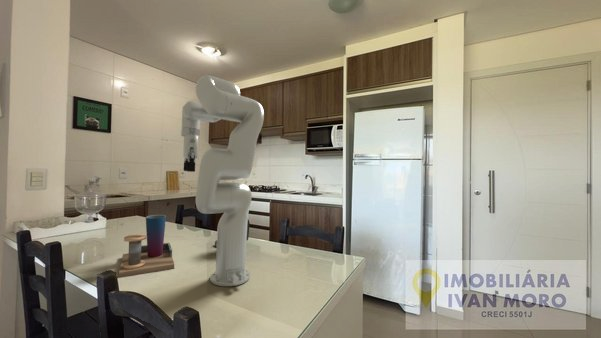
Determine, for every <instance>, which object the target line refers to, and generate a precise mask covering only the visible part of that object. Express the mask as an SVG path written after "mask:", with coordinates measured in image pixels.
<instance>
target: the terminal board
mask: <svg viewBox="0 0 601 338" xmlns="http://www.w3.org/2000/svg"><path fill="white" fill-rule="evenodd" d="M144 240H147V234H142V233H141V234H137V233H136V234H131V235H129V234H128V235H126V236H124V237H123V241H124V242H128V253H123V254H122V256H121V262H120V267H119V270H118V271H119V272H118V278H123V277H129V276H136V275H141V274H149V273H154V272H160V271H167V270H173V269H175V261H174V259H173V248H172V246H171V243H170V242H164V243H163V254H162V255H161V256H158V257H148V253H147V244H144V245H142V241H144Z"/></svg>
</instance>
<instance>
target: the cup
mask: <svg viewBox="0 0 601 338" xmlns="http://www.w3.org/2000/svg"><path fill="white" fill-rule="evenodd" d="M166 219H167V215H165V214H153V215H147V216H146V217H145V227H146V229H145V230H146V245H147V253H148V257H158V256H161V255H162V254H163V243H165V242H164V241H165V231H166Z"/></svg>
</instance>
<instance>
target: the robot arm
mask: <svg viewBox="0 0 601 338" xmlns="http://www.w3.org/2000/svg"><path fill="white" fill-rule="evenodd" d="M195 85H196V86H195V94H196V97H197V99H198V101H199V102H198V101H193V100H189V101H186V103H185V104H184V105H183V106H182V112H181V134H180V136H181V137H183V152H182V153H183V158H184V160H183V161H184V162H183V171H184V172H187V173H188V172H190V173H191V172H193V173H194V172H196V159H198V158H199V138H200V135H201V134H200V132H201V122H206V123H216V122H218V121H221V120H223V121H229V122H235V123H236V122H237V123H239V124H237V126H235V127H234V129H232V131H231V133H230V135H229V140H228V146H227V148H215V147H214V148H209V149H207V150H206V151H205V152H204V153H203V155H202V156H201V160H200V164H199V171H198V178H197V185H196V190H195V191H196V192H195V205H196V209H197V211H198V212H200V213H201V214H205V215H206V214H207V215H210V214H221V213H223V214H222V215H221V217H220V219H218V220H219V221H218V224H217V232H216V241H217V246H216V251H215V252H216V255H215V257H216V259H215V271H214V272H212V273H211V275H210V279H209V280H210V283H211V284H213V285H215V286H219V287H233V286H239V285H242V284H245V283H246V282H248V281H249V280H250V278H251V273H250V270H248V269H247V268H246V264H247V263H246V262H247V243H248V242H247V241H248V240H247V222H248V220H249V211H250V208H251V204H252V203H251V202H252V198H253V197H252V191H251V188H250V187H249V186H248V185H247V184H245V183H242V182H234V181H233V180H235V181H236V180H237V181H239V180H246V179H247V178H249V177H250V175H251V173H252V169H253V165H254V159H255V153H256V147H257V142H258V139H259V136H260V135H259V134H260V133H261V130H262V128H263V124H264V119H265V112H264V108H263V106H262V104H261V103H260V102H258V101H257V100H255V99H252V98H250V97H248V96H247V97H246V96H243V95H241V91H240V88H239V87H238V85H236V84H235V83H234V82H232V81H229V80H226V79H223V78H221V77H217V76H213V75H209V74H208V75H207V74H205V75H203V76H201V77H199V79H198V80H197V82H196V84H195ZM223 180H224V181H225V180H227V181H228V182H227V181H226V182H220V181H223ZM231 180H232V181H233V182H229V181H231Z"/></svg>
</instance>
